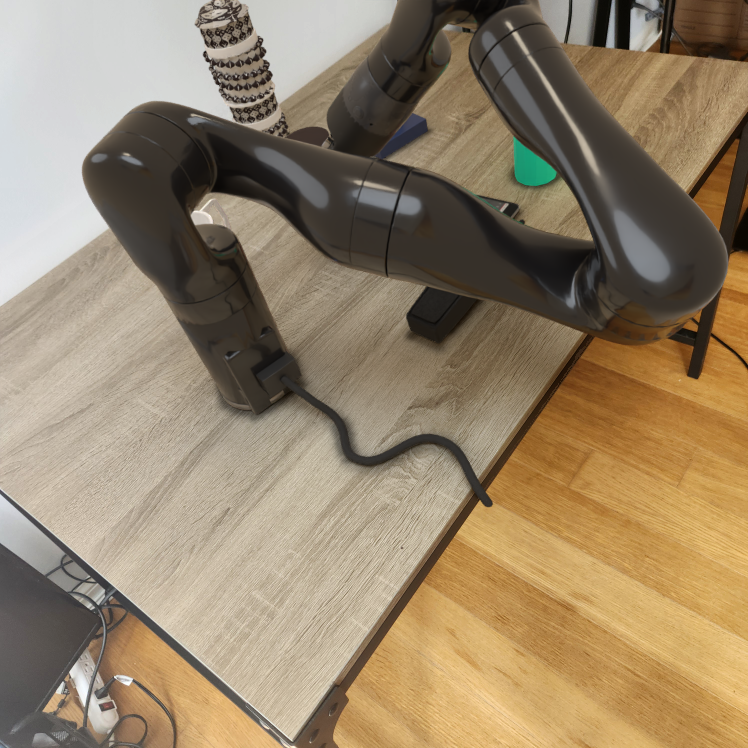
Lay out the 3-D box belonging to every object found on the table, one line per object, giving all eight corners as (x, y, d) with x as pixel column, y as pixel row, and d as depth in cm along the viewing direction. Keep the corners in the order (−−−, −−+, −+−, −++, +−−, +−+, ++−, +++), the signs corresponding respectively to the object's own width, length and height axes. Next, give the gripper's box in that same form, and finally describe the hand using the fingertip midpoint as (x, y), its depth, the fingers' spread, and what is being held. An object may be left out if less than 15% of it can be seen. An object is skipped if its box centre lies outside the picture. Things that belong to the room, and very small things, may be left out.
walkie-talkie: (392, 317, 77) (485, 210, 84) (428, 352, 78) (516, 244, 85) (414, 305, 72) (511, 191, 78) (452, 344, 73) (545, 228, 79)
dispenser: (428, 130, 107) (424, 108, 104) (381, 159, 104) (376, 137, 101) (386, 112, 113) (382, 90, 110) (342, 139, 110) (336, 117, 107)
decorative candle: (292, 172, 107) (238, 13, 88) (240, 177, 109) (177, 22, 90) (304, 142, 112) (256, -14, 93) (254, 147, 114) (198, -5, 96)
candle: (565, 175, 92) (568, 94, 83) (528, 191, 91) (526, 111, 82) (543, 156, 96) (543, 77, 87) (507, 171, 95) (503, 93, 86)
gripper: (377, 164, 68) (309, 243, 82) (421, 93, 76) (352, 176, 89) (320, 116, 66) (259, 205, 80) (371, 49, 74) (308, 140, 87)
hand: (309, 189), depth 84 cm, fingers closed on deodorant, 6 cm apart
